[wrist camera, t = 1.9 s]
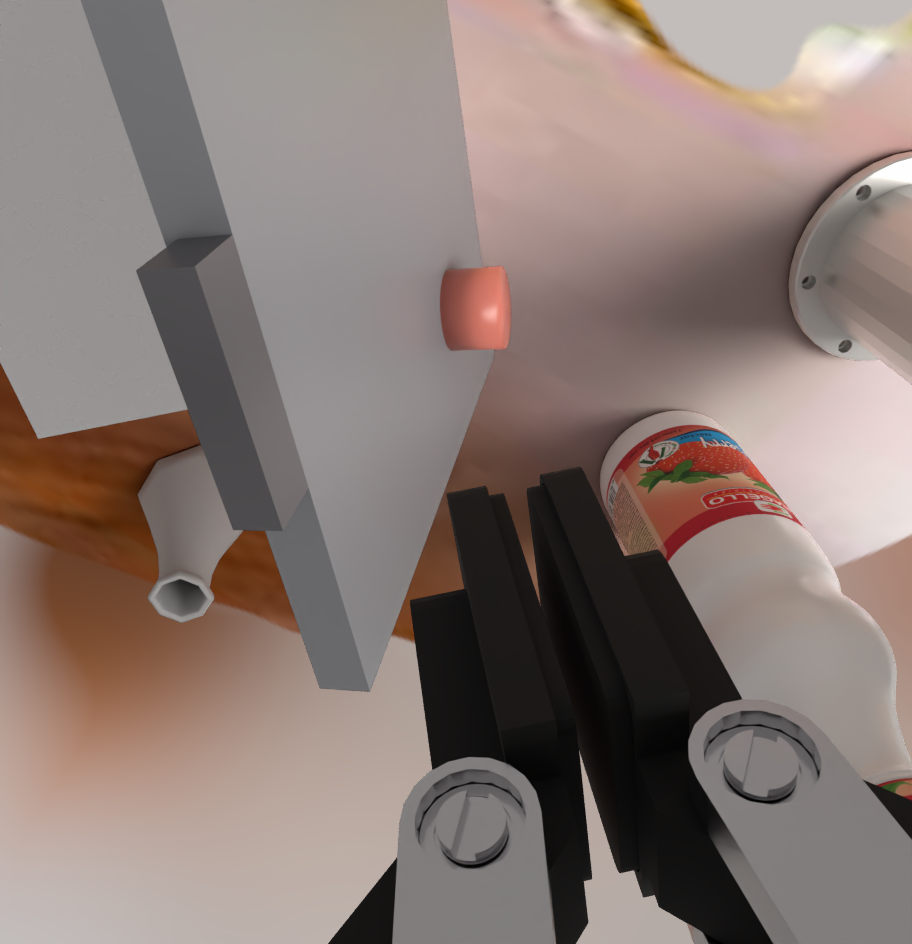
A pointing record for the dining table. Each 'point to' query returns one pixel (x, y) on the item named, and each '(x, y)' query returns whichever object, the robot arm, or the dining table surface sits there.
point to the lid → (314, 279)
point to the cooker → (72, 233)
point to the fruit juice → (758, 585)
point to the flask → (185, 532)
